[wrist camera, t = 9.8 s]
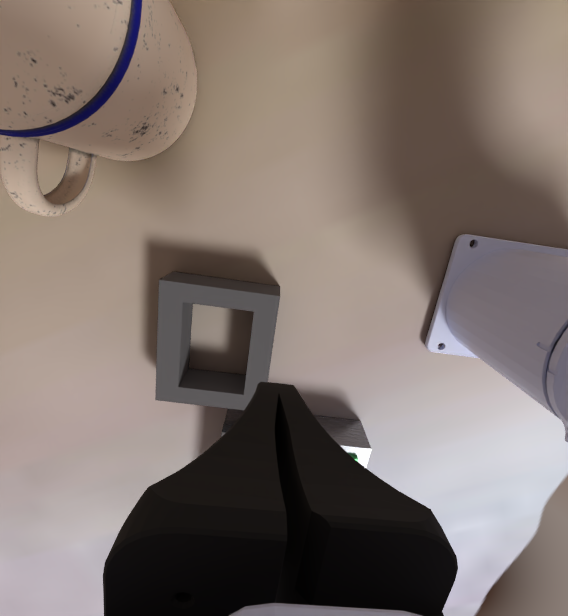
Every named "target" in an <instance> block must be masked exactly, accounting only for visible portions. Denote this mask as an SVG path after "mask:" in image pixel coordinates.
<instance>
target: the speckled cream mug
mask: <svg viewBox="0 0 568 616" xmlns="http://www.w3.org/2000/svg"><path fill="white" fill-rule="evenodd" d="M196 94H197V69H196V62H195V57H194V53H193V49H192V46H191V43H190V40H189V38H188V35H187V33H186V31H185V29H184V27H183V25H182V23H181V21H180V19H179V17H178V15H177V14H176V12H175V10H174V8H173V6H172V4H171V2H170V0H0V173H1V178H2V181H3V184H4V186H5V188H6V190H7V192H8V194H9V195H10V197H11V198H12V199H13V201H14V202H15V203H16V204H17V205H18V206H20V207H21V208H23V209H24V210H27V211H29V212H32V213H35V214H39V215H43V216H58V215H62V214H65V213H67V212H69V211H71V210H72V209H74V208H75V207H76V206H77V205H78V204H79V203H80V202H81V201H82V200H83V198H84V197H85V196H86V194H87V192H88V190H89V188H90V186H91V183H92V179H93V175H94V171H95V165H96V158H97V155H98V156H101V157H105V158H109V159H113V160H119V161H137V160H143V159H147V158H150V157H153V156H155V155H157V154H159V153H161V152H163V151H164V150H166V149H167V148H168V147H170V146H171V145H172V144H173V143H174V142H175V141H176V140H177V139H178V138H179V136H180V135H181V134H182V132H183V131H184V129H185V128H186V126H187V124H188V122H189V120H190V118H191V115H192V112H193V109H194V105H195V101H196ZM39 139H42V140H45V141H49V142H52V143H56V144H59V145H63V146H66V147H69V154H68V161H67V166H66V170H65V173H64V176H63V178H62V180H61V182H60V183H59V184H58V186H57V187H56V188H55V189H54V190H52V191H51V192H50V193H48V194H46V195H43V194H42V192H41V190H40V187H39V183H38V177H37V161H38V148H39Z"/></svg>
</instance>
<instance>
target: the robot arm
mask: <svg viewBox="0 0 568 616" xmlns="http://www.w3.org/2000/svg"><path fill="white" fill-rule="evenodd" d="M472 240H474V245H473V246H472V247H470V242H471V241H472ZM440 343H443V345H442V346H441V347H439V348H438V345H439V344H440ZM425 347H426V348H427V349H428V350H429V351H431V352H436V353H444V354H452V355H460V356H467V357H475V358H480V359H481V360H483V361H484V362H485V363H487V364H488V365H489V366H490V367H492V368H493V369H494V370H496V371H497V372H498V373H500V374H501V375H502V376H504V377H505V378H506V379H508V380H509V381H510V382H512V383H513V384H514V385H516V386H517V387H518V388H520V389H521V390H522V391H524V392H525V393H526V394H528V395H529V396H530V397H532V398H533V399H534V400H535V401H537V402H538V403H539V404H541V405H542V406H543V407H545V408H546V409H547V410H549V411H550V412H551V413H553V414H554V415H555V416H557V417H558V418H559V419H561V420H562V422H563V423H564V426H565V430H566V435H565V441H567V442H568V249H562V248H555V247H549V246H542V245H535V244H529V243H522V242H515V241H509V240H502V239H496V238H489V237H482V236H476V235H469V234H462V235H459V236H458V237H457V239H456V241H455V244H454V247H453V251H452V254H451V257H450V261H449V264H448V267H447V271H446V274H445V278H444V281H443V284H442V288H441V291H440V294H439V298H438V301H437V305H436V308H435V311H434V315H433V318H432V321H431V325H430V328H429V331H428V335H427V338H426V342H425ZM457 570H458V565H457V558H456V555H455V553H454V551H453V549H452V547H451V545H450V543H449V542H448V539H447V537H446V535H445V533H444V531H443V529H442V528H441V526H440V524H439V523H438V521H437V519H436V518H435V516H434V514H433V513H432V511H431V509H429V508H427V507H426V506H424V505H422V504H420V503H418V502H417V501H415V500H413V499H411V498H410V497H408V496H406V495H404V494H403V493H401V492H399V491H398V490H396V489H395V488H393V487H392V486H390V485H389V484H387V483H386V482H384V481H383V480H381V479H380V478H378V477H377V476H375V475H374V474H373V473H371V472H370V471H369V470H367V469H366V468H365V467H364V466H362V465H361V464H360V463H359V462H357V461H356V460H355V459H354V458H353V457H351V456H350V455H349V454H348V453H347V452H346V451H345V450H344V449H343V448H342V447H341V446H340V445H339V444H338V443H337V442H336V441H335V440H334V439H333V438H332V437H331V436H330V435H329V434H328V433H327V432H326V430H325V429H324V428H323V427H322V426H321V425H320V423H319V422H318V421H317V419H316V418H315V417H314V415H313V414H312V413H311V411H310V410H309V408H308V407H307V405H306V404H305V402H304V401H303V399H302V398H301V396H300V394H299V393H298V391H297V390H296V388H295V387H294V385H287V384H278V383H269V382H260V383H258V384H257V388H256V391H255V393H254V395H253V397H252V399H251V400H250V402H249V404H248V405H247V407H246V408H245V410H244V411H243V413H242V414H241V415H240V416H239V418H238V419H237V420H236V422H235V423H234V424H233V425H232V426H231V428H230V429H229V430H228V431H227V432H226V433H225V434H224V435H223V436H222V437H221V438H220V439H219V440H218V441H217V442H216V443H215V444H213V445H212V446H211V447H210V448H209V449H208V450H207V451H205V452H204V453H203V454H202V455H200V456H199V457H198V458H196V459H195V460H193V461H192V462H191V463H189V464H188V465H186V466H185V467H184V468H182V469H181V470H179V471H177V472H176V473H174V474H172V475H170V476H168V477H167V478H165V479H163V480H161V481H159V482H157V483H155V484H153V485H151V486H149V487H148V488H147V490H146V491H145V492H144V494H143V495H142V496H141V498H140V499H139V501H138V502H137V504H136V505H135V507H134V508H133V510H132V511H131V513H130V514H129V516H128V518H127V519H126V521H125V523H124V524H123V526H122V528H121V530H120V532H119V534H118V536H117V538H116V540H115V542H114V544H113V547H112V549H111V551H110V553H109V555H108V557H107V559H106V562H105V567H104V573H103V590H104V616H444V615H443V613H442V610H443V608H444V605H445V603H446V600H447V598H448V596H449V593H450V591H451V589H452V586H453V584H454V581H455V578H456V574H457Z"/></svg>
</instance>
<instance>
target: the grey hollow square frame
mask: <svg viewBox="0 0 568 616" xmlns="http://www.w3.org/2000/svg"><path fill="white" fill-rule="evenodd" d="M279 300H280V286H274V285H267V284H260V283H253V282H245V281H238V280H231V279H223V278H216V277H209V276H202V275H194V274H187V273H180V272H171V273H170V274H168V275H166V276H165V277H163V278H161V279H160V280H159V299H158V333H157V366H156V399H155V400H159V401H168V402H176V403H185V404H194V405H202V406H211V407H220V408H228V409H237V410H245V408H246V407H247V405H248V404H249V402H250V400H251V399H252V397H253V395H254V393H255V391H256V388H257V384H258V383H260V382H268V375H269V368H270V362H271V355H272V348H273V341H274V334H275V327H276V320H277V313H278V307H279ZM193 304H200V305H208V306H215V307H223V308H230V309H238V310H246V311H253V312H254V315H253V323H252V332H251V340H250V348H249V356H248V364H247V372H246V375H239V374H230V373H222V372H214V371H206V370H198V369H189V355H190V340H191V324H192V308H193Z"/></svg>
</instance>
